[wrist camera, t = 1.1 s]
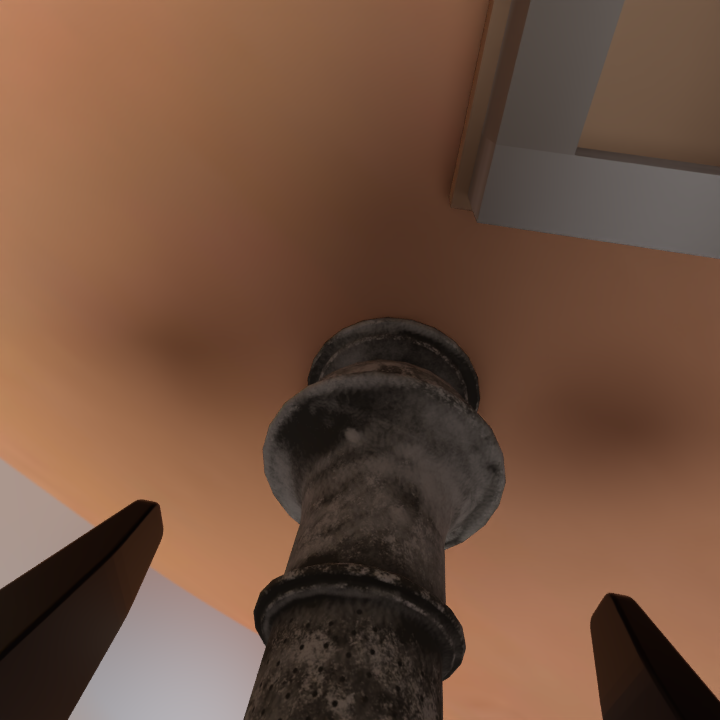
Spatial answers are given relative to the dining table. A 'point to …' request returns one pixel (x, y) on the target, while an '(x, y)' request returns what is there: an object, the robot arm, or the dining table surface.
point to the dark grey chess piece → (373, 526)
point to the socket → (597, 122)
